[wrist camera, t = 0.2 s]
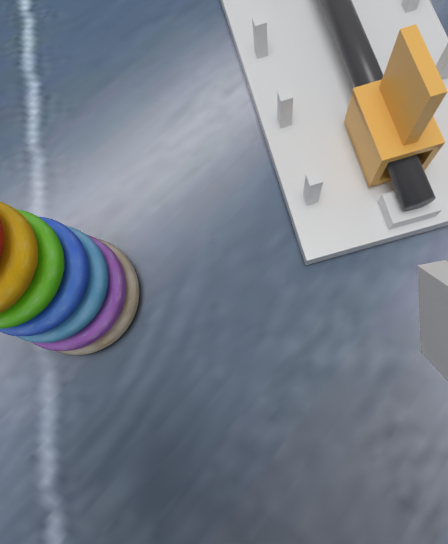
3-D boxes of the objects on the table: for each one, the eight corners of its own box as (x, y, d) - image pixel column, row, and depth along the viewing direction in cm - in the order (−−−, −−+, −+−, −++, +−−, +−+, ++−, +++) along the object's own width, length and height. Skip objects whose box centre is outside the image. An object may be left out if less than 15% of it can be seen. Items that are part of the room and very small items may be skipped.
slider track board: (516, 206, 27) (575, 164, 22) (305, 265, 28) (312, 239, 23) (377, -83, 34) (396, -169, 29) (211, -28, 35) (198, -103, 29)
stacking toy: (95, 221, 31) (-167, 2, 13) (166, 298, 29) (-23, 168, 11) (12, 297, 30) (-386, 181, 12) (79, 380, 28) (-278, 393, 10)
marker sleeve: (424, 171, 27) (482, 91, 19) (369, 187, 27) (405, 114, 20) (396, 106, 28) (440, 7, 21) (344, 122, 28) (368, 29, 21)
